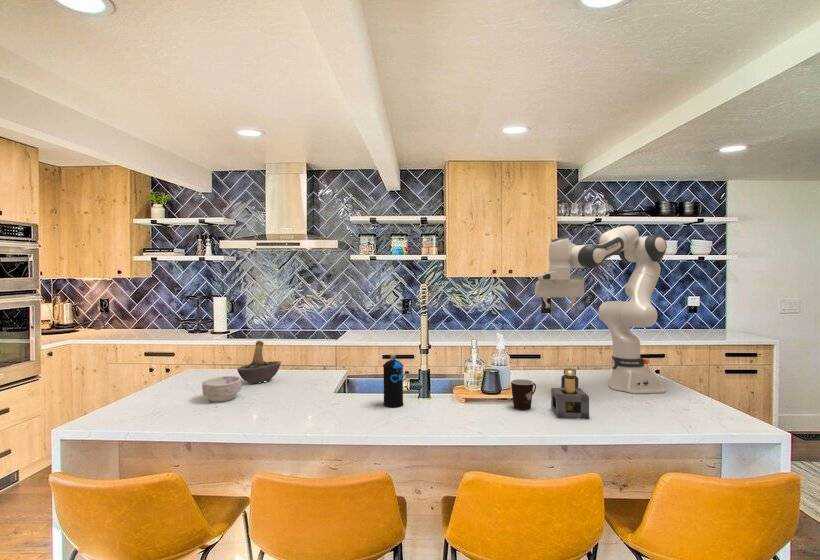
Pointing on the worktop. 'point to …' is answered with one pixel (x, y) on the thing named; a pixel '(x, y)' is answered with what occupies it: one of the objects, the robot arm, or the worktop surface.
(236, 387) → the grey stone bowl
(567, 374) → the brass tube
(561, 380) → the supplement bottle
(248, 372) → the mortar and pestle
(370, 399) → the worktop surface
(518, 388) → the coffee mug
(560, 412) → the collar stand
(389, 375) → the aerosol can
